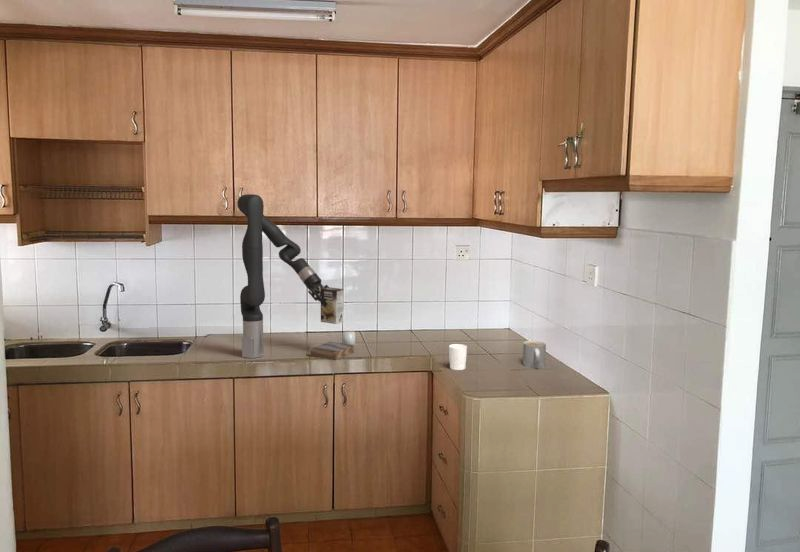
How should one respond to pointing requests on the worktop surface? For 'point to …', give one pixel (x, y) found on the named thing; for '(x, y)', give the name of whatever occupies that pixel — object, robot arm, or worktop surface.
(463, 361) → the white cup
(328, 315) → the coffee box
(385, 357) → the worktop surface
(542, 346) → the coffee mug
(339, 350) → the podium
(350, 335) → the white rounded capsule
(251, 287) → the robot arm
